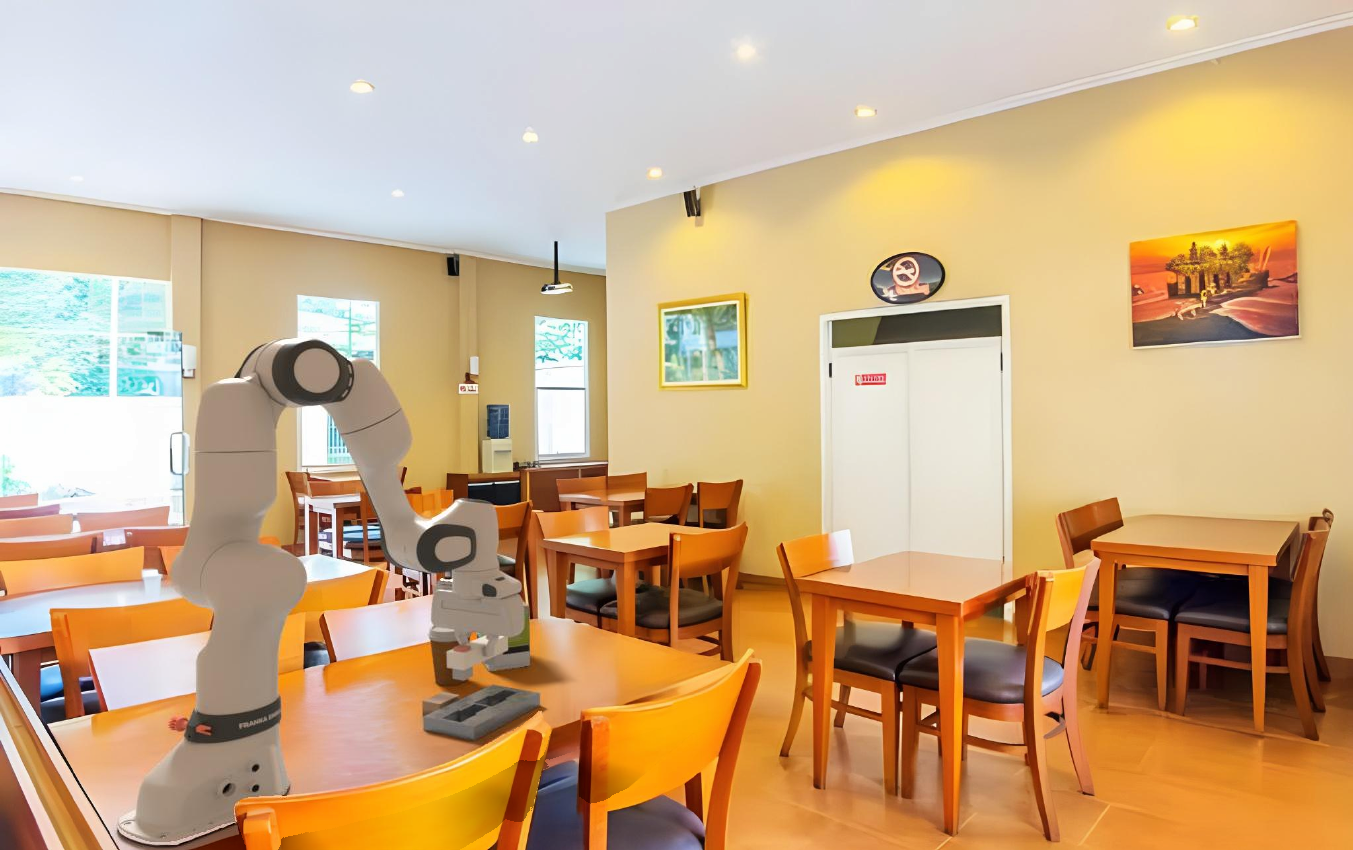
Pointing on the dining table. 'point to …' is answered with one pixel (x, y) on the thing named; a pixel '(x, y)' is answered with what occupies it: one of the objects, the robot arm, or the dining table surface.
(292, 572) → the robot arm
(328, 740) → the dining table surface
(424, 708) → the tan rectangular block
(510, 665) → the tea box
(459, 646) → the white key block
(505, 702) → the keyhole plate
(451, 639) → the disposable coffee cup
